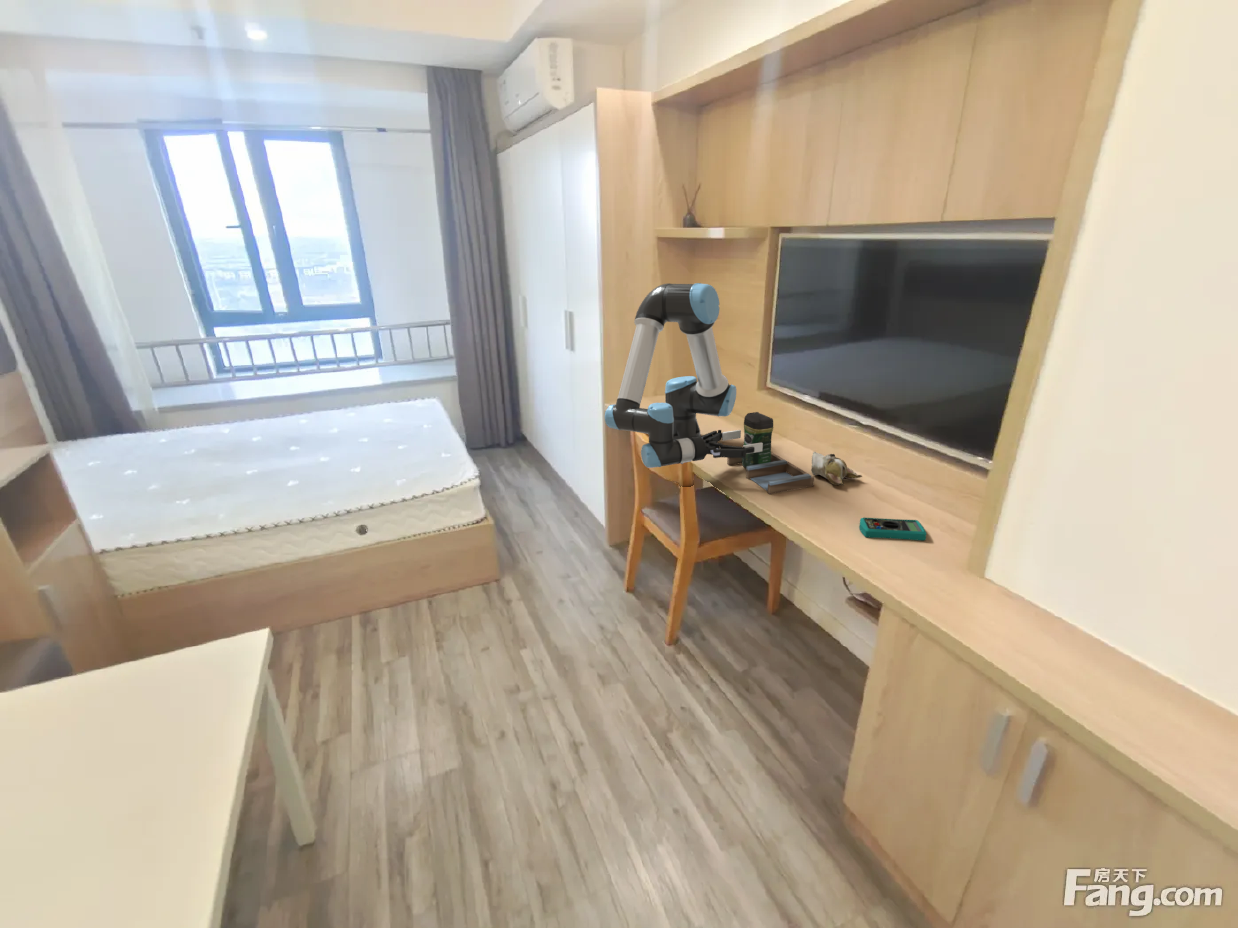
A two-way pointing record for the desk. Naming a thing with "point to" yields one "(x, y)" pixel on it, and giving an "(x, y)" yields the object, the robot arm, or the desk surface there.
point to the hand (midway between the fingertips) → (750, 440)
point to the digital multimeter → (892, 529)
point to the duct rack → (776, 475)
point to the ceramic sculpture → (831, 468)
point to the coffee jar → (757, 438)
